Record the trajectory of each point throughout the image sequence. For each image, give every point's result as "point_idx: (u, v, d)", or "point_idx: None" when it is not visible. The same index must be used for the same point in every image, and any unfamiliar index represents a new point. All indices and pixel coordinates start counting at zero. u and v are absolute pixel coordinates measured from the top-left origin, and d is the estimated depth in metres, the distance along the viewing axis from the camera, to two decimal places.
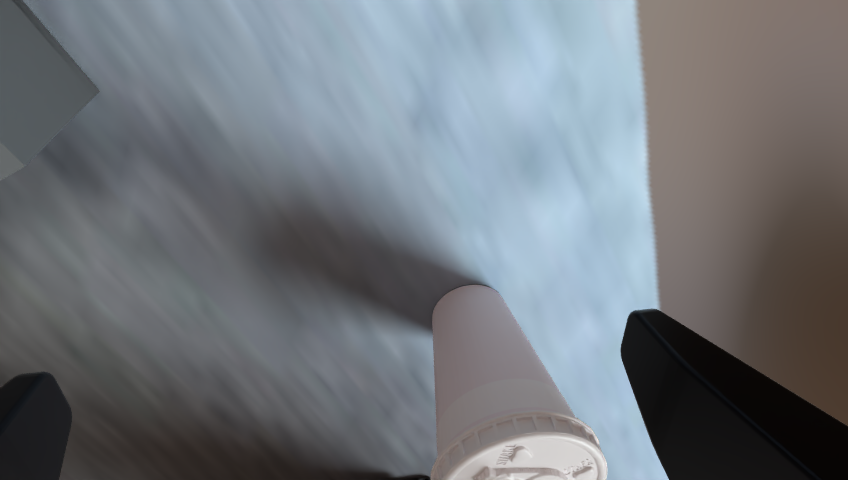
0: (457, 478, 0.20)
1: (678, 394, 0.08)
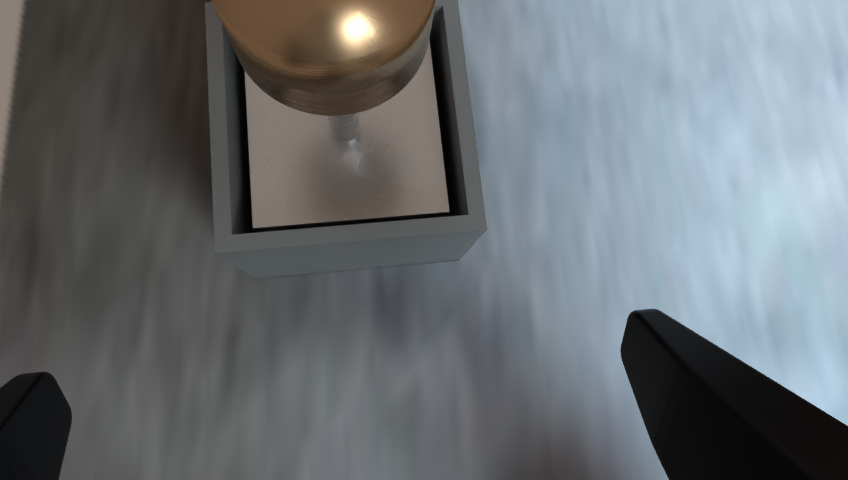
0: None
1: (678, 394, 0.08)
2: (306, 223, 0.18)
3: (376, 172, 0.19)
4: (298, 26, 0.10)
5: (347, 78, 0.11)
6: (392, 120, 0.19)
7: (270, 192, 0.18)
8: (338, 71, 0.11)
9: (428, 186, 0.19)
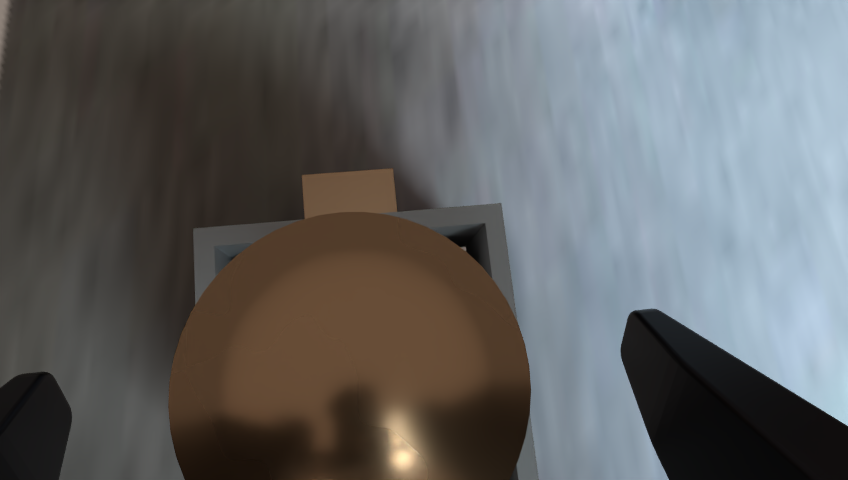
0: None
1: (678, 394, 0.08)
2: None
3: None
4: None
5: None
6: None
7: None
8: None
9: None
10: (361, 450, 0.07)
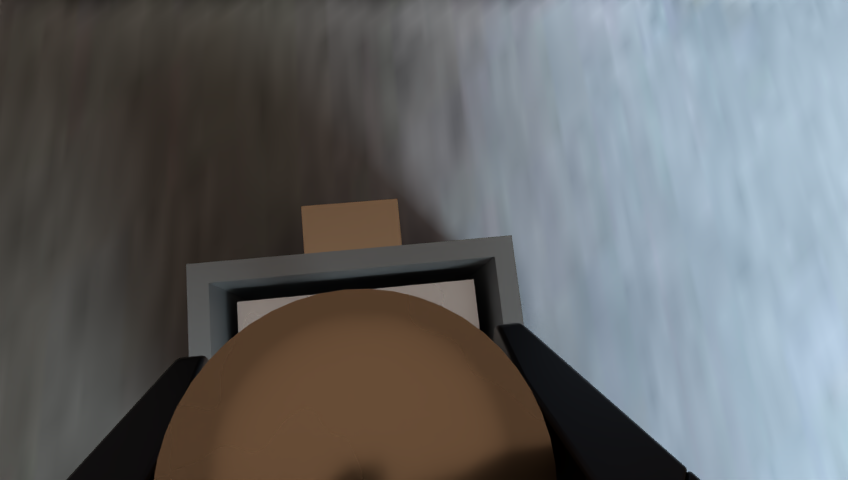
0: None
1: None
2: None
3: None
4: None
5: None
6: None
7: None
8: None
9: None
10: None
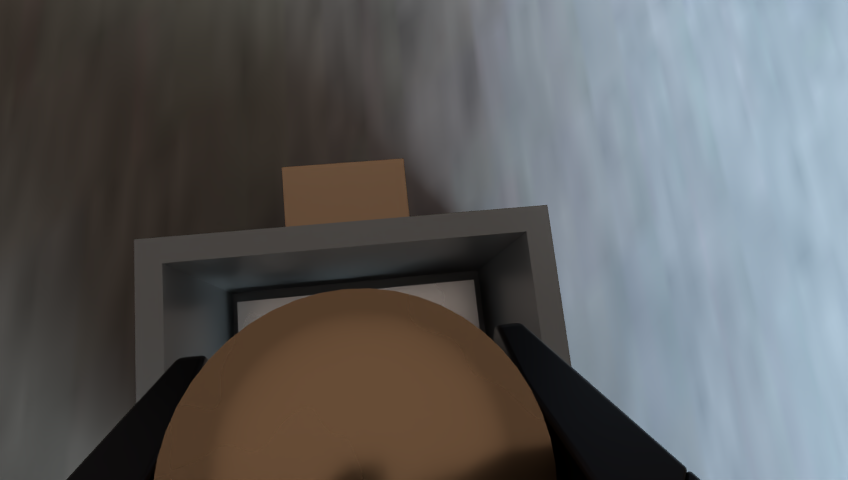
0: None
1: None
2: None
3: None
4: None
5: None
6: None
7: None
8: None
9: None
10: None
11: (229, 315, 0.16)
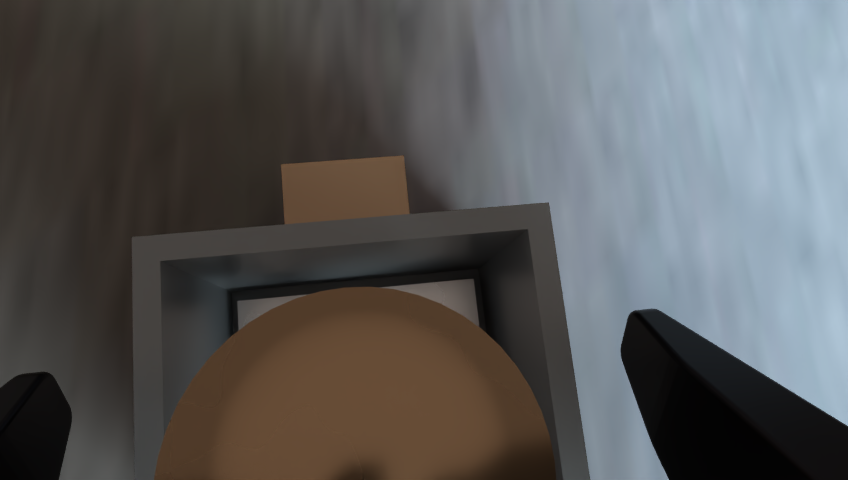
0: None
1: (678, 394, 0.08)
2: None
3: None
4: None
5: None
6: None
7: None
8: None
9: None
10: None
11: (228, 314, 0.15)
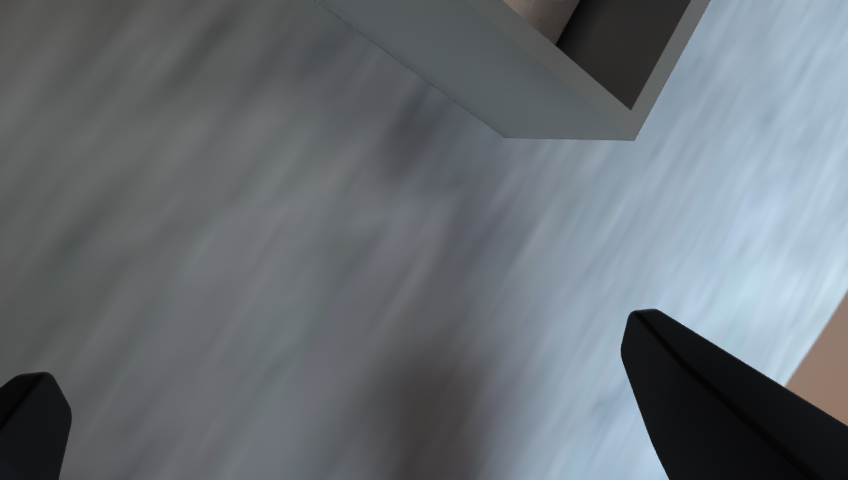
0: None
1: (678, 394, 0.08)
2: None
3: None
4: None
5: None
6: None
7: None
8: None
9: None
10: None
11: None
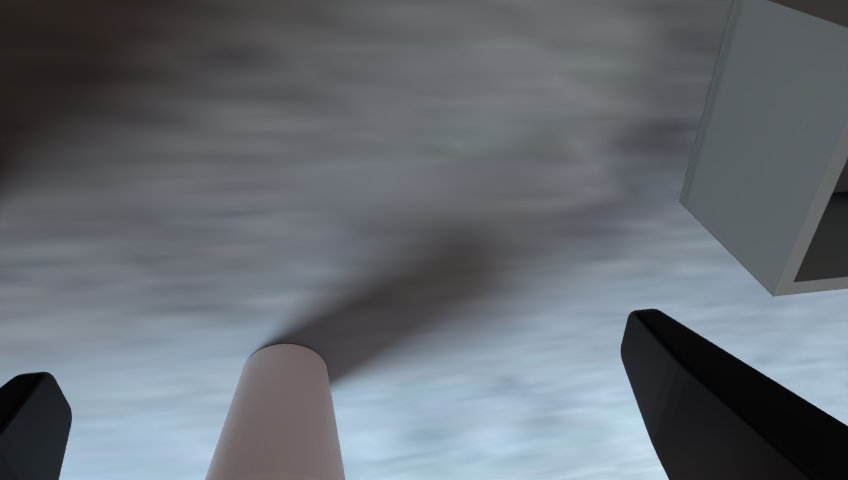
0: None
1: (678, 394, 0.08)
2: None
3: None
4: None
5: None
6: None
7: None
8: None
9: None
10: None
11: None
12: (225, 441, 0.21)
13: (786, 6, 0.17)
